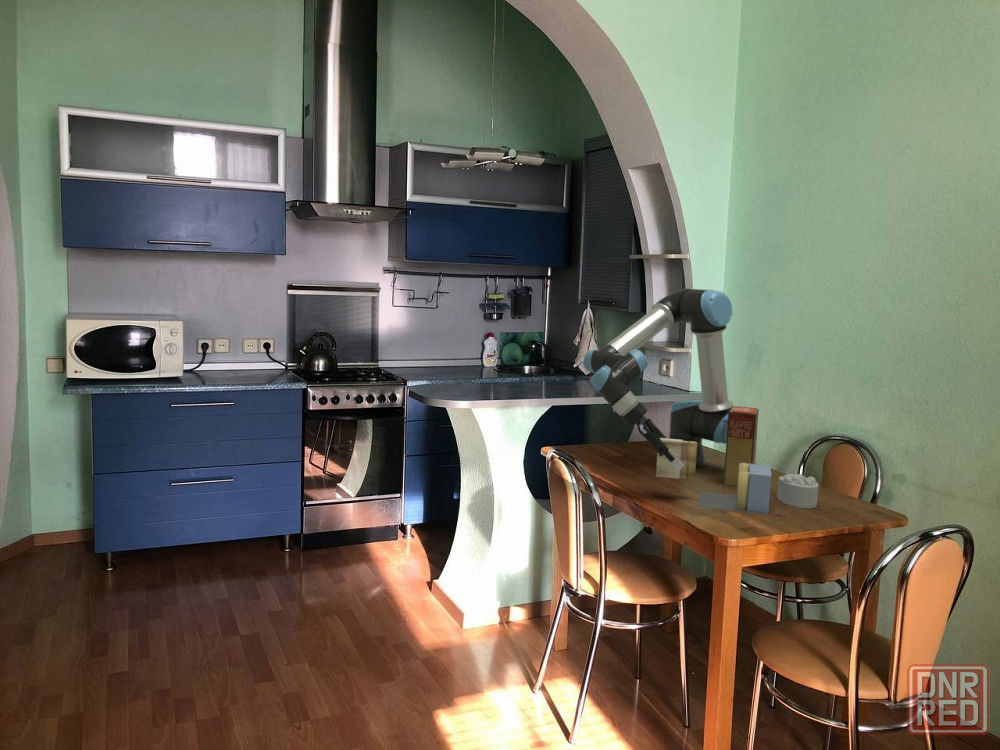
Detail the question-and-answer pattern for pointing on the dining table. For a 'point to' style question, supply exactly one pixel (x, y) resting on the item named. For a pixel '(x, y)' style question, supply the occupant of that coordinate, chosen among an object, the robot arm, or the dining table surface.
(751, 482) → the fixed leaf
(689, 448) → the beige block
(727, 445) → the food packaging
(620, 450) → the dining table surface
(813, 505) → the lumpy-topped squat cylinder
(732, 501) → the mat
